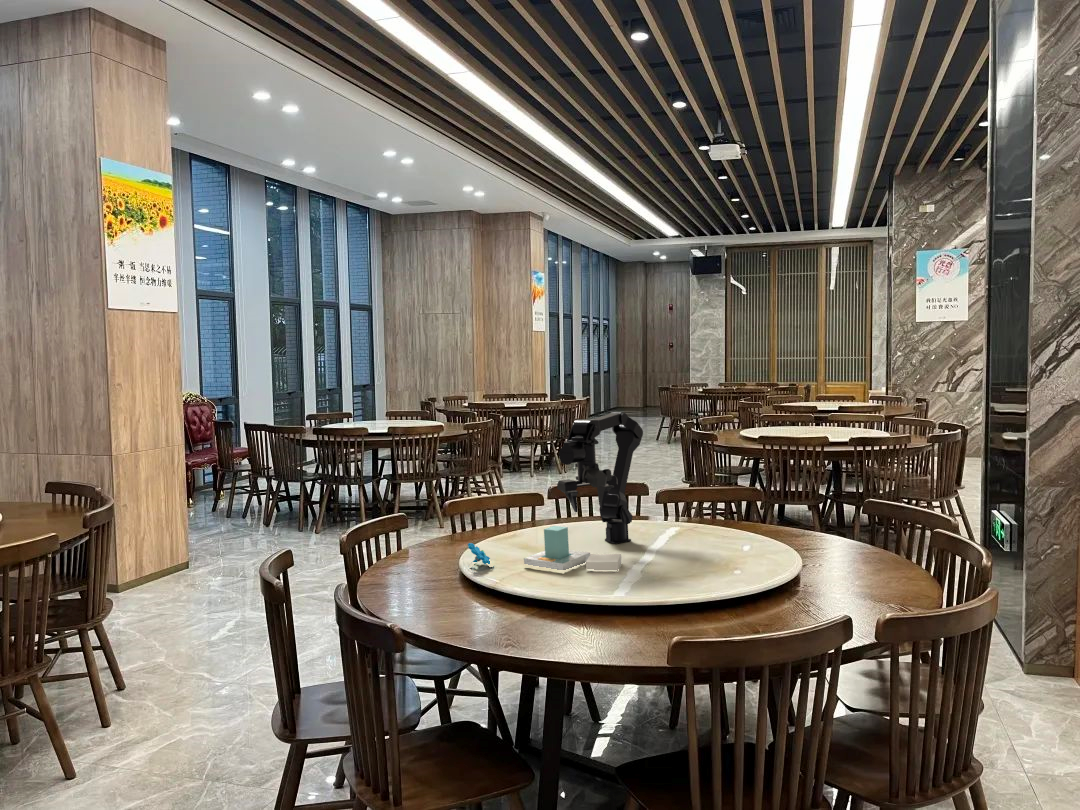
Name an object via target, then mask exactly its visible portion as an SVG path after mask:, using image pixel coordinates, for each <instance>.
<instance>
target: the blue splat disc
mask: <svg viewBox="0 0 1080 810" xmlns="http://www.w3.org/2000/svg"><path fill="white" fill-rule="evenodd" d="M467 549H469V550H470V551H471V553H472V554H473V555H475V557H474V560H472V562H477V563H478V562H480V561H481V562H482V564H483V565H487V564H486V563H488V564H490V561H489V559H491V557H490V556H487V555H486V552H485V551H484V550H483V549H481V548H479V547H478V546H476V545H475V544H474V543H472V542H469V543H468V544H467Z"/></svg>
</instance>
